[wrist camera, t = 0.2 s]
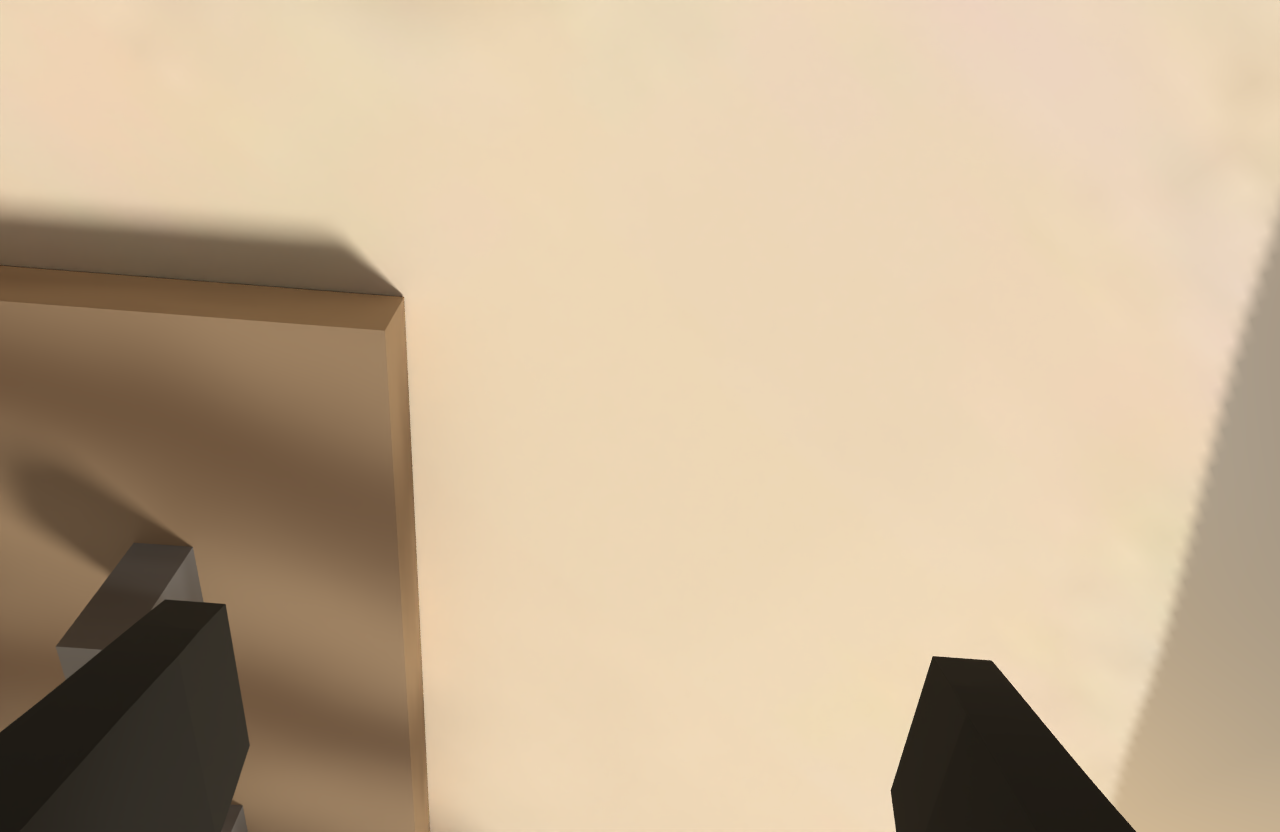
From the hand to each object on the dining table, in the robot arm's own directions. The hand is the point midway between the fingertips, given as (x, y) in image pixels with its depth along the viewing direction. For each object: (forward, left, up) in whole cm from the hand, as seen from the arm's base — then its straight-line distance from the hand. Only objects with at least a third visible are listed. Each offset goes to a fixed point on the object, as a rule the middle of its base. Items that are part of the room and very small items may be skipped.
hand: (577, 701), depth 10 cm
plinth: (-10, +10, -10) cm, 17 cm away
